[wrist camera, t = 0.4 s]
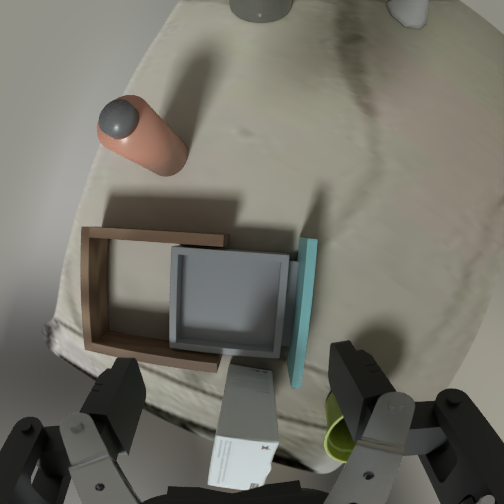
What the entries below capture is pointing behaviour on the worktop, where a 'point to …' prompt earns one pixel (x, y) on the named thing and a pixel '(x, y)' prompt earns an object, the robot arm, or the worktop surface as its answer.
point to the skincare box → (245, 430)
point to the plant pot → (337, 432)
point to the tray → (243, 302)
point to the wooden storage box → (97, 299)
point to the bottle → (141, 136)
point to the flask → (409, 12)
